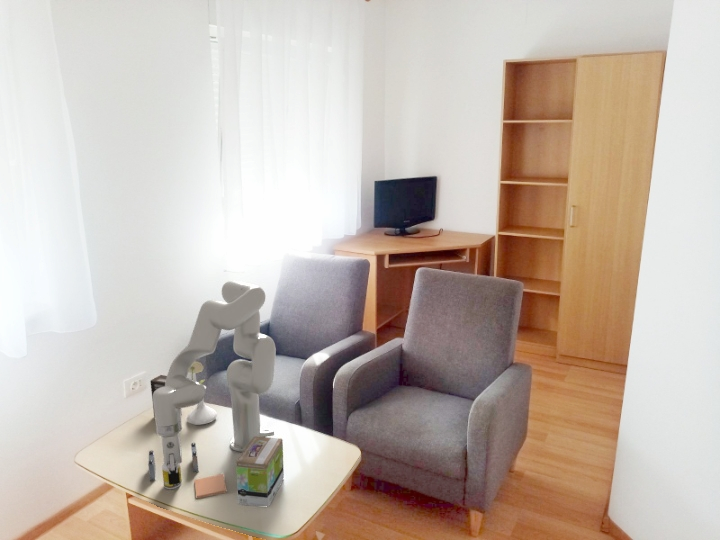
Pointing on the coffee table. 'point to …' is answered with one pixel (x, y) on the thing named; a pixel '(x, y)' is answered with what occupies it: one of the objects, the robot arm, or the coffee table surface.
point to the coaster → (210, 486)
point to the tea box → (260, 471)
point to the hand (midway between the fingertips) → (174, 477)
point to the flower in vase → (201, 412)
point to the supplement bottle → (166, 479)
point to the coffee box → (158, 386)
